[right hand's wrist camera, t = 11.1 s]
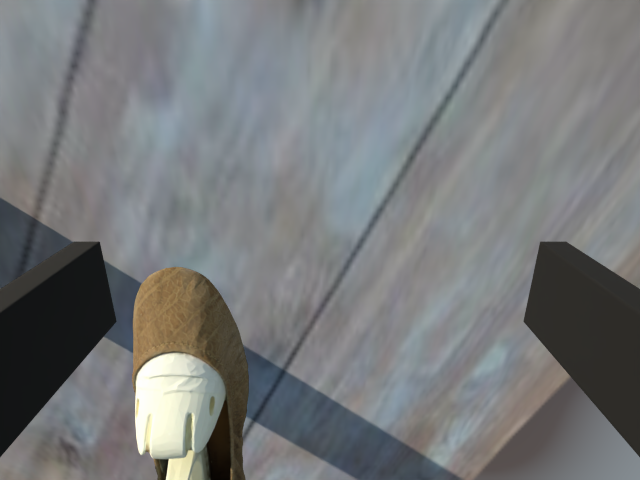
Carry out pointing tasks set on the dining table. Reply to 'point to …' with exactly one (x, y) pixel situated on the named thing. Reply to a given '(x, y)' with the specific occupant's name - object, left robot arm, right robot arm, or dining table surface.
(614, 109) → the dining table surface
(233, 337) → the brown shoe
